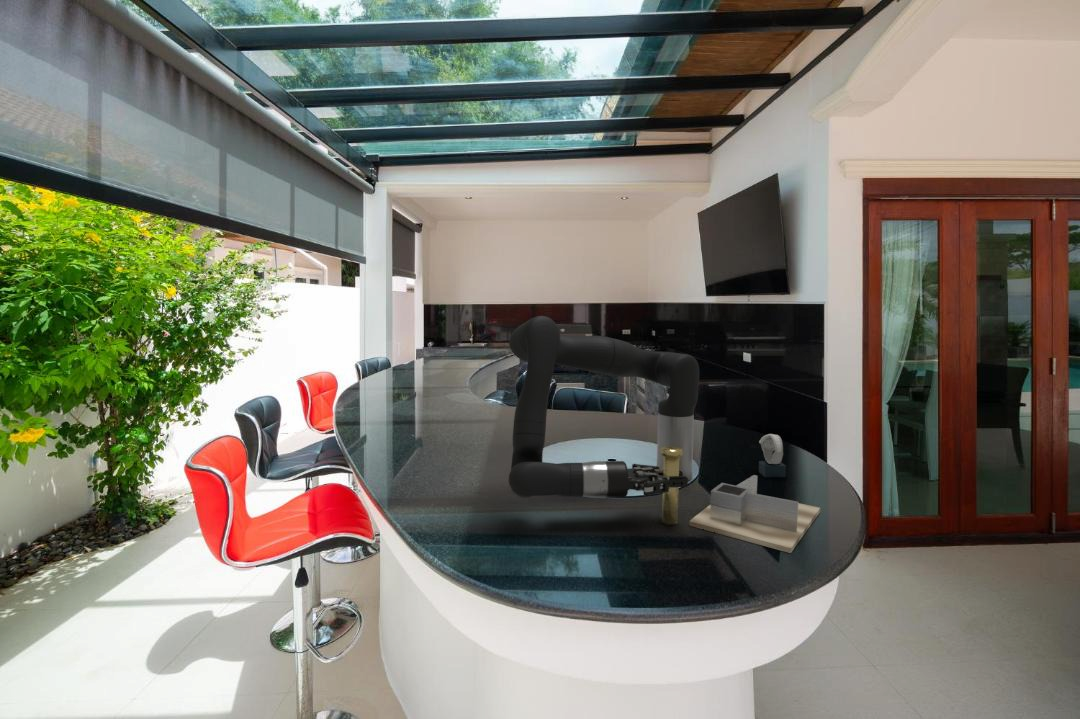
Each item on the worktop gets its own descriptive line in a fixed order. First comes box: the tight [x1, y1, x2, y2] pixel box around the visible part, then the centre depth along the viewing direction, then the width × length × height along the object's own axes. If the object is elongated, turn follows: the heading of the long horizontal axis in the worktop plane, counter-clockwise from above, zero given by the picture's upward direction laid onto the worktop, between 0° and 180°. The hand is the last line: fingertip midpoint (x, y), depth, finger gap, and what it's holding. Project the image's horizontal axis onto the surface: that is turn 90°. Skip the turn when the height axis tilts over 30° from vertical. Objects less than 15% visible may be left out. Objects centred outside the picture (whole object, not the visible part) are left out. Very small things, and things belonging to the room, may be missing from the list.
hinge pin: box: [661, 446, 683, 526], centre depth 114 cm, size 4×4×16 cm
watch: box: [758, 433, 787, 478], centre depth 146 cm, size 6×8×11 cm
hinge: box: [709, 474, 799, 532], centre depth 116 cm, size 16×16×6 cm
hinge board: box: [688, 502, 821, 554], centre depth 117 cm, size 25×20×1 cm
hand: (684, 478), depth 114 cm, fingers closed on hinge pin, 3 cm apart
